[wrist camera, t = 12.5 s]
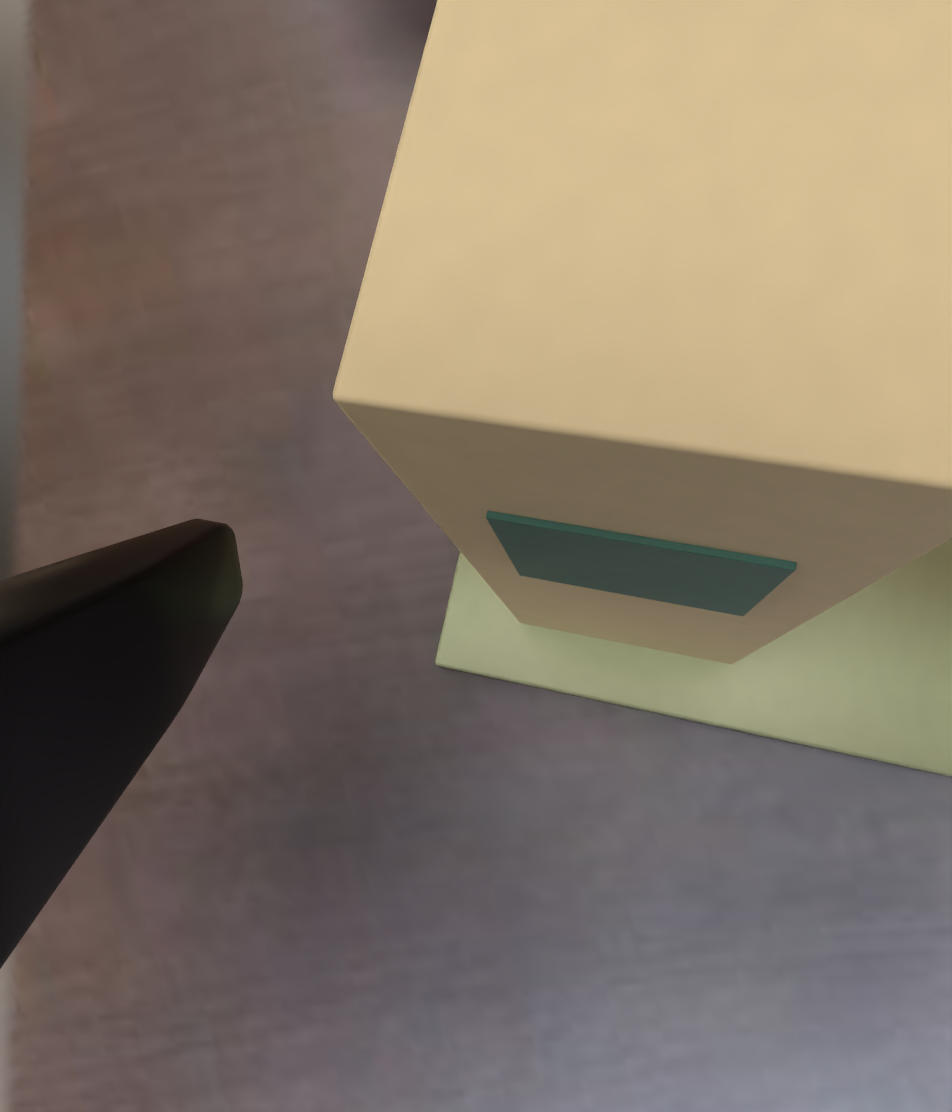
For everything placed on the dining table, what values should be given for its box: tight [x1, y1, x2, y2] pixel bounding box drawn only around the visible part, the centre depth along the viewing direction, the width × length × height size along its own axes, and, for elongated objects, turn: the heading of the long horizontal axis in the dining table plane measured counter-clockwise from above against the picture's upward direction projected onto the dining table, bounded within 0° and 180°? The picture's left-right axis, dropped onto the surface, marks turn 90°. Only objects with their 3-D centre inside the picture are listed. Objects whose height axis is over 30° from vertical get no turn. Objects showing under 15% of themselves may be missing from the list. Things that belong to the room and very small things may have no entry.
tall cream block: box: [333, 0, 952, 664], centre depth 11 cm, size 5×5×12 cm
